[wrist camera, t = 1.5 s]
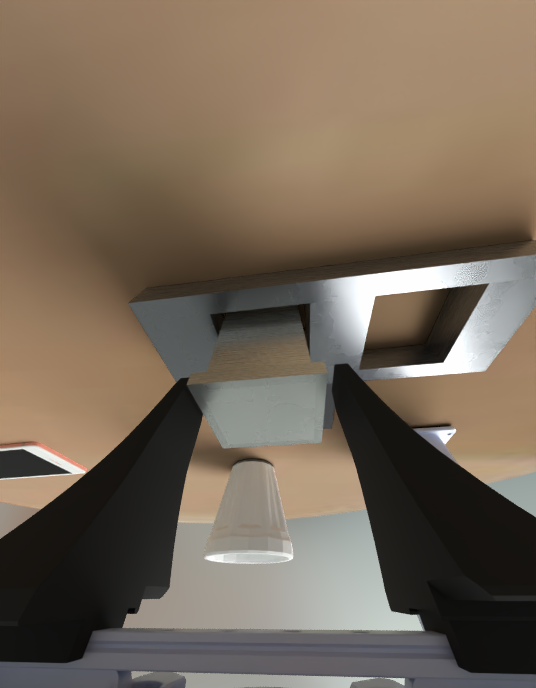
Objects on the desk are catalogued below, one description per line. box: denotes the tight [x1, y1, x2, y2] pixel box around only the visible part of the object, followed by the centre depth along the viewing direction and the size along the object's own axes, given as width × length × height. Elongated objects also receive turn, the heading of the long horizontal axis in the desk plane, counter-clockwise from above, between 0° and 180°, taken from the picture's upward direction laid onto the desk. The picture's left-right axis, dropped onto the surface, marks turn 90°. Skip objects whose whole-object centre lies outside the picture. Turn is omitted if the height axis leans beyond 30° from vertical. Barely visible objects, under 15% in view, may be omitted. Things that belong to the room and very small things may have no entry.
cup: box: [204, 459, 293, 564], centre depth 26 cm, size 10×10×9 cm
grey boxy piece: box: [187, 305, 328, 448], centre depth 12 cm, size 5×5×7 cm
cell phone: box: [0, 442, 87, 480], centre depth 28 cm, size 9×18×1 cm, turn 100°
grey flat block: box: [128, 240, 536, 384], centre depth 13 cm, size 8×22×2 cm, turn 97°
